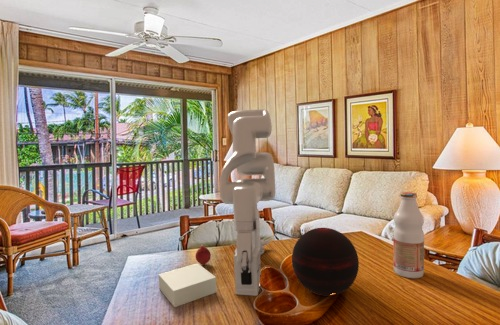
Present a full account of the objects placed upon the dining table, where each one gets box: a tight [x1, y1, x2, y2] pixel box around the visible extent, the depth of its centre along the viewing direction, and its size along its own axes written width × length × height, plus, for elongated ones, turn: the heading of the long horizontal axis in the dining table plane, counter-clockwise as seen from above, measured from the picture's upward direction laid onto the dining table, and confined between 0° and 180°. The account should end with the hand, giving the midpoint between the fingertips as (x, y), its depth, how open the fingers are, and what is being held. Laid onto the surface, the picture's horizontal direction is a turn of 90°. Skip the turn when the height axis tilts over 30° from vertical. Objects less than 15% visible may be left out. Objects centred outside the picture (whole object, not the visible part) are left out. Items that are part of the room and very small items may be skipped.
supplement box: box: [233, 248, 262, 297], centre depth 98 cm, size 7×7×13 cm
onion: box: [195, 244, 212, 266], centre depth 119 cm, size 6×6×8 cm
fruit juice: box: [392, 191, 425, 279], centre depth 104 cm, size 9×9×28 cm
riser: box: [158, 262, 218, 308], centre depth 99 cm, size 14×14×5 cm
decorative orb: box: [291, 227, 360, 297], centre depth 94 cm, size 20×20×20 cm
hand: (248, 277), depth 98 cm, fingers closed on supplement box, 7 cm apart
